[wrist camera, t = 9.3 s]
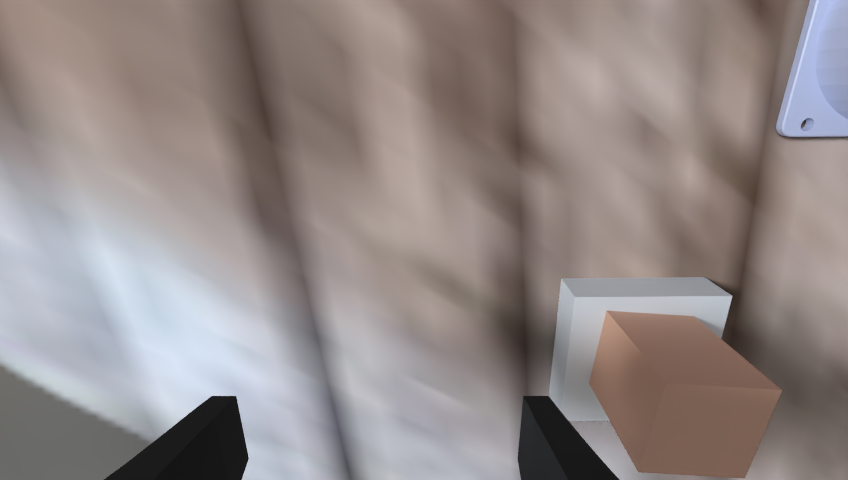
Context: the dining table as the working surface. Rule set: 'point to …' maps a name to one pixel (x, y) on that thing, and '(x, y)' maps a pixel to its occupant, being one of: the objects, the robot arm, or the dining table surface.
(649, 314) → the column block
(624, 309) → the foundation slab
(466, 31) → the dining table surface
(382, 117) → the dining table surface
